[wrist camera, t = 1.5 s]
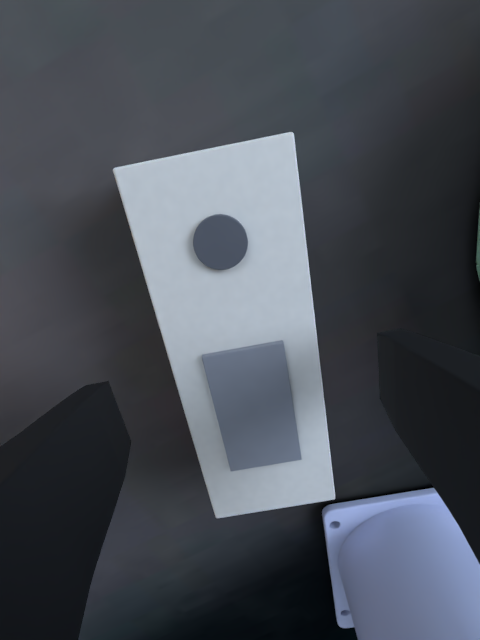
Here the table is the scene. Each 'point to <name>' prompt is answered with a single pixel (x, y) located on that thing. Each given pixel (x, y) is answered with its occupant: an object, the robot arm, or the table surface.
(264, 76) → the table surface
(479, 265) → the bowl
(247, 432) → the remote
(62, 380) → the table surface
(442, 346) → the robot arm
